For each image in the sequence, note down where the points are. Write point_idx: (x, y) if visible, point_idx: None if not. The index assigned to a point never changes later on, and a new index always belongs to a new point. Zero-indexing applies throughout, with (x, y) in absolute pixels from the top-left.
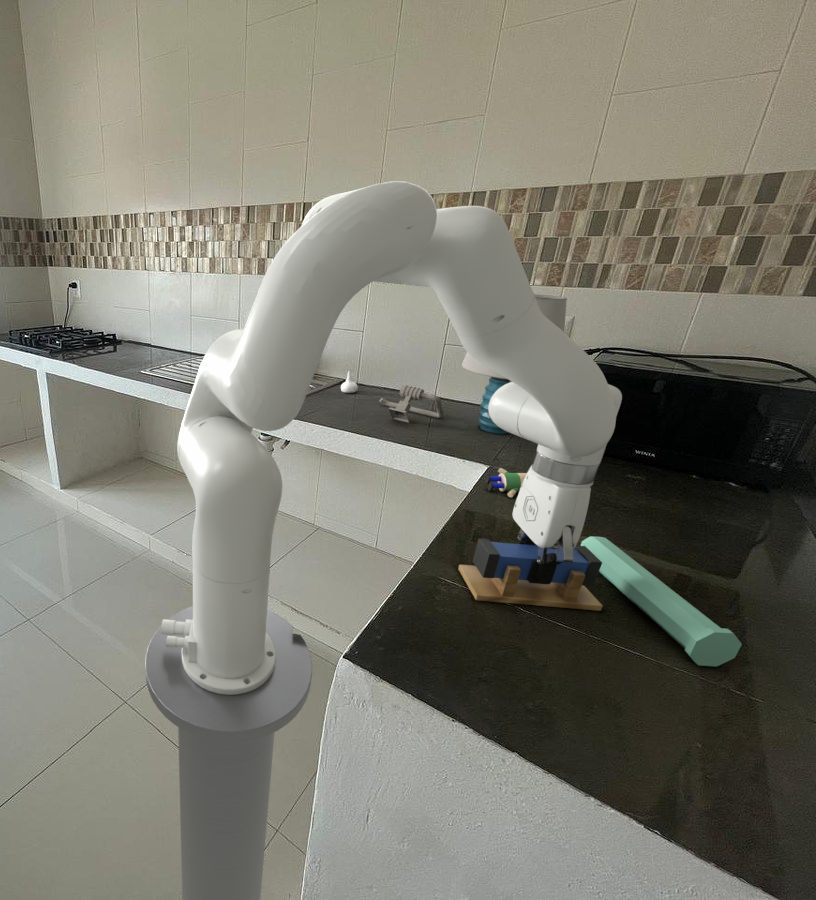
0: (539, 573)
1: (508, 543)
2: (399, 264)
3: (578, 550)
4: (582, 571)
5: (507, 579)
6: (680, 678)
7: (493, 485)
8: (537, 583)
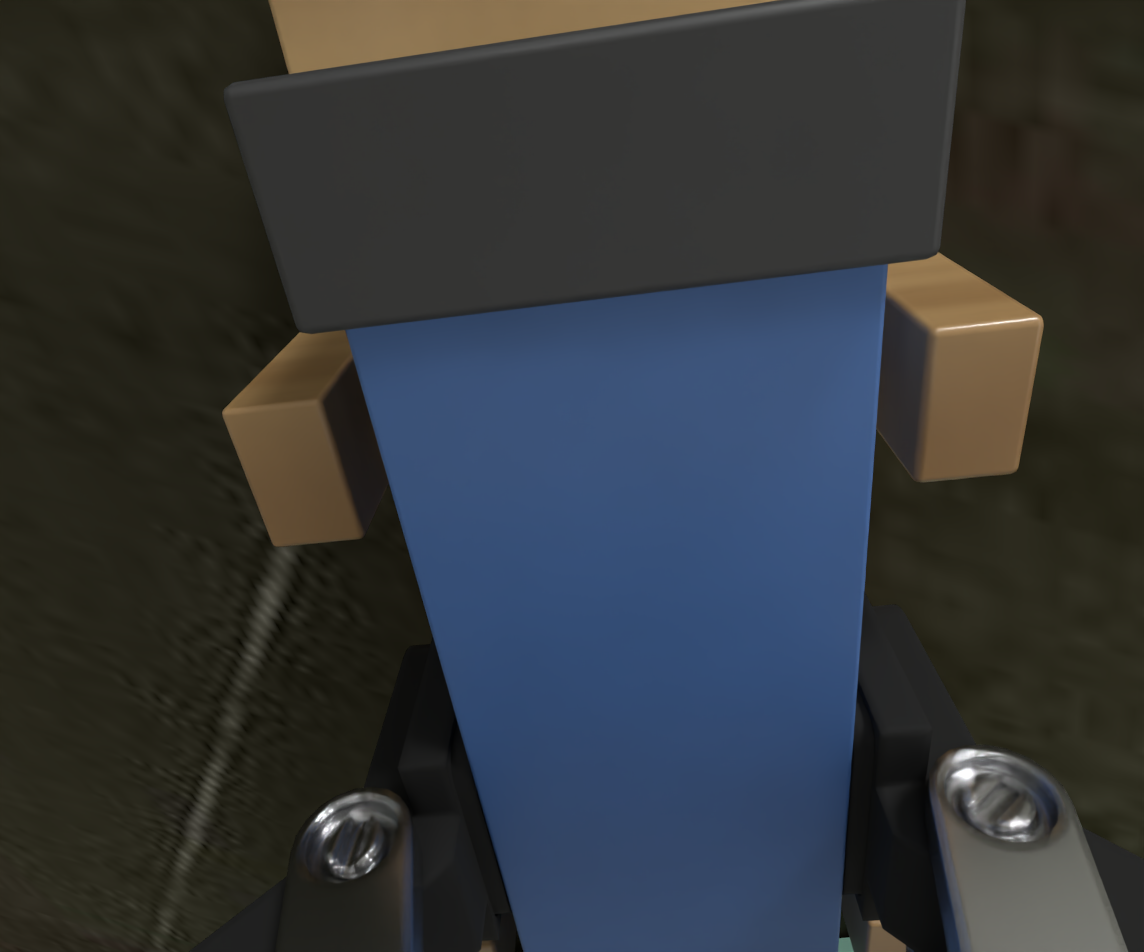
0: (402, 701)
1: (859, 586)
2: None
3: None
4: None
5: (284, 348)
6: (100, 903)
7: None
8: None
